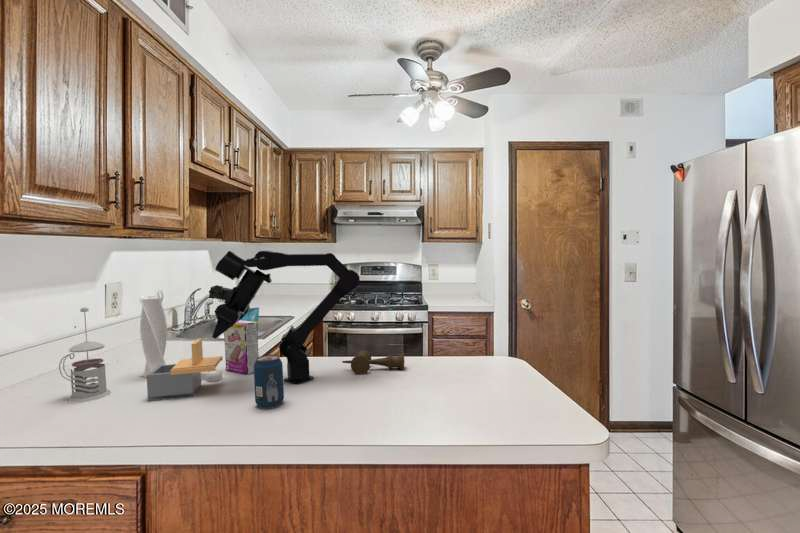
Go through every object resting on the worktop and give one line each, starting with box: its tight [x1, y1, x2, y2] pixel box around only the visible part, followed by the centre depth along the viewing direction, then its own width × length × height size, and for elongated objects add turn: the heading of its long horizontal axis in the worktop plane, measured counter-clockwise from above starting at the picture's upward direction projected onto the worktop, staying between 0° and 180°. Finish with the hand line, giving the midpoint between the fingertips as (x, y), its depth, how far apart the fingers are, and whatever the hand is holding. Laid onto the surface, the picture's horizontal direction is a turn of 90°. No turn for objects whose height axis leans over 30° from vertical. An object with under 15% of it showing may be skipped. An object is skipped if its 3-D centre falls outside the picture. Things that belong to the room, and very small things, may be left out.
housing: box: [146, 363, 202, 402], centre depth 116 cm, size 11×10×7 cm
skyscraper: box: [139, 290, 168, 379], centre depth 133 cm, size 8×8×28 cm
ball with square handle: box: [201, 369, 223, 383], centre depth 127 cm, size 7×4×2 cm, turn 72°
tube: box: [240, 307, 260, 337], centre depth 146 cm, size 7×5×19 cm, turn 123°
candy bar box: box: [223, 320, 260, 375], centre depth 135 cm, size 11×5×16 cm, turn 59°
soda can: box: [253, 354, 285, 410], centre depth 104 cm, size 7×7×12 cm
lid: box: [170, 338, 223, 375], centre depth 117 cm, size 11×12×7 cm
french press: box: [58, 306, 112, 403], centre depth 115 cm, size 10×12×25 cm
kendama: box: [341, 350, 405, 375], centre depth 132 cm, size 6×10×20 cm
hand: (218, 334), depth 119 cm, fingers open, 9 cm apart
